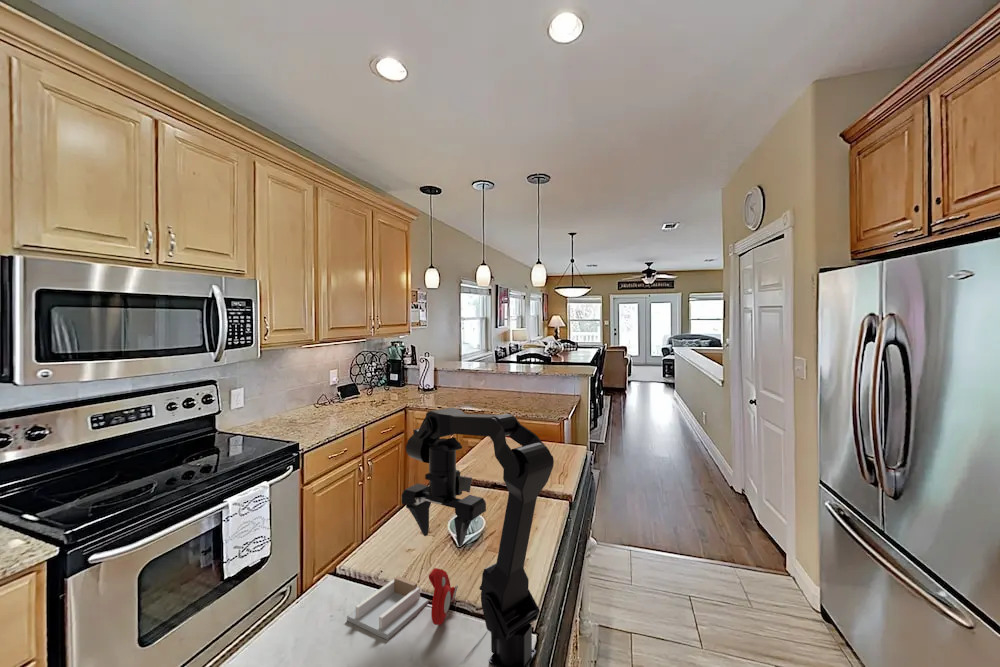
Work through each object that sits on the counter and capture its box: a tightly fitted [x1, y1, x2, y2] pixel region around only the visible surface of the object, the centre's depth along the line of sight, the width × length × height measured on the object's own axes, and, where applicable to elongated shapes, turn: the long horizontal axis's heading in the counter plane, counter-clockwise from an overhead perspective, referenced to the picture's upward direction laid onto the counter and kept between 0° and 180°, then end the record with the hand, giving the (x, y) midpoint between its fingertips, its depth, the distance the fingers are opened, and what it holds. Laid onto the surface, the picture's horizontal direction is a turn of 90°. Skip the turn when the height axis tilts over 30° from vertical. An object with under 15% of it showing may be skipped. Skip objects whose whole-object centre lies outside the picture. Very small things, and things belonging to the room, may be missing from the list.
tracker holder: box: [428, 567, 459, 626], centre depth 87 cm, size 12×4×10 cm, turn 166°
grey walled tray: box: [346, 575, 429, 641], centre depth 88 cm, size 11×12×4 cm
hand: (442, 540), depth 92 cm, fingers open, 9 cm apart
